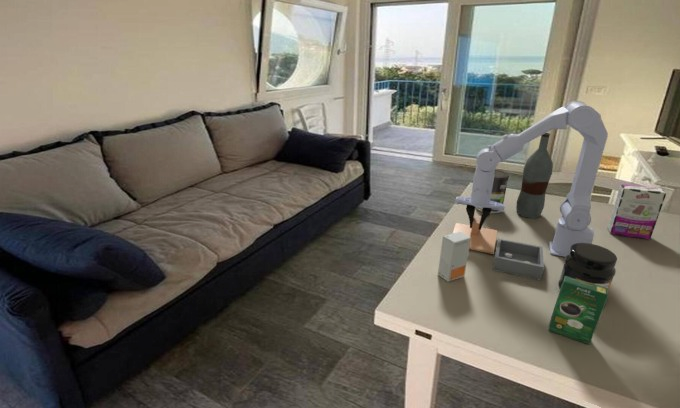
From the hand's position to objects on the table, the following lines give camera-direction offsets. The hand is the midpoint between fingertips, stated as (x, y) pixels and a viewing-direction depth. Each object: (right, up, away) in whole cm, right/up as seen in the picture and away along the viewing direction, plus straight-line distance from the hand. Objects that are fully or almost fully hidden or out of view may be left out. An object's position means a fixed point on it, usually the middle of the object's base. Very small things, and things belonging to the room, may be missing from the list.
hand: (475, 227), depth 120 cm
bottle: (+27, +4, +19) cm, 33 cm away
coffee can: (+13, +6, +24) cm, 28 cm away
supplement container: (+17, -15, -26) cm, 34 cm away
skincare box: (-13, -12, -19) cm, 26 cm away
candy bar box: (+52, -3, +4) cm, 52 cm away
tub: (+7, -10, -13) cm, 18 cm away
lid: (-1, -4, -1) cm, 4 cm away
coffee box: (+6, -21, -39) cm, 45 cm away
